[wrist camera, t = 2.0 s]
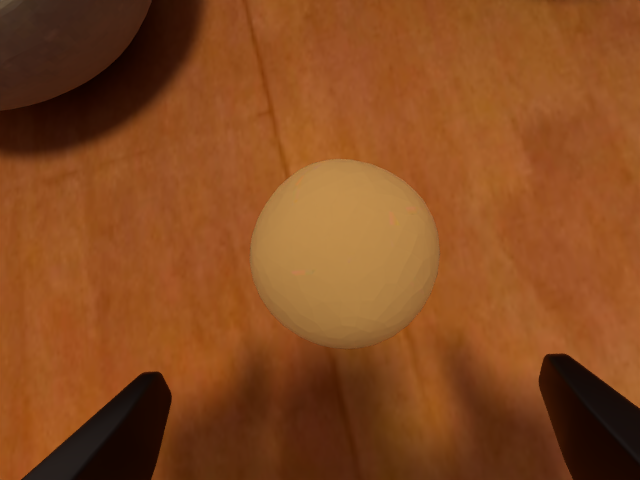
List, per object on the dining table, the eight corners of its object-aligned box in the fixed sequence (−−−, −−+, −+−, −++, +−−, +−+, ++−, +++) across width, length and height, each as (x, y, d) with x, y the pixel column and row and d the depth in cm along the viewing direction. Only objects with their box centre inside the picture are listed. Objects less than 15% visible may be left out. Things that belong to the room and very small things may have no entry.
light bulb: (437, 256, 20) (499, 181, 10) (379, 368, 19) (385, 402, 9) (330, 202, 21) (295, 93, 12) (271, 304, 20) (180, 276, 11)
